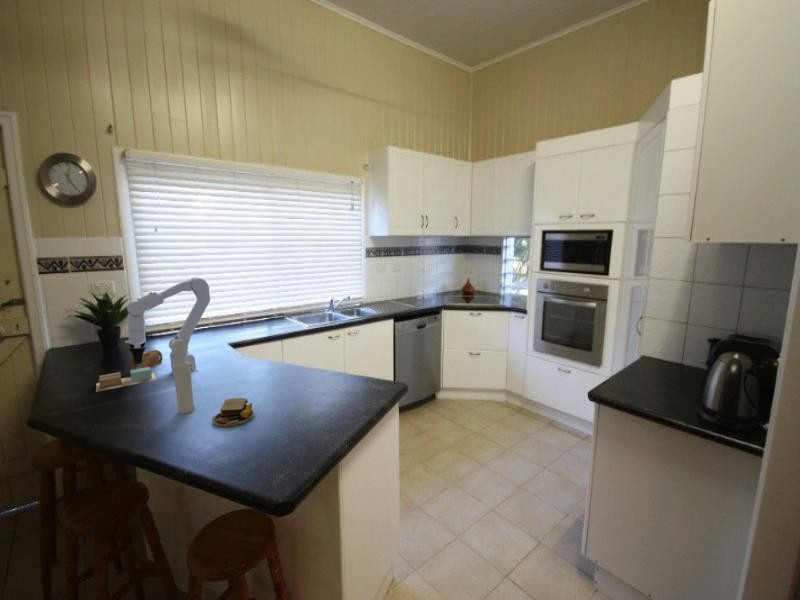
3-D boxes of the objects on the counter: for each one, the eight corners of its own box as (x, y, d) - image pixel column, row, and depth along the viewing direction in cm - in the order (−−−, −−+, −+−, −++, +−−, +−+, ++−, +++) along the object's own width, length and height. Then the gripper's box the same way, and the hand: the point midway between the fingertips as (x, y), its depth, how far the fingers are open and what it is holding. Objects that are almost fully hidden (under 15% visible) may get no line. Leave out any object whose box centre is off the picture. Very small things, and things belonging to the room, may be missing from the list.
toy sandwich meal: (204, 429, 117) (203, 414, 116) (224, 410, 130) (223, 397, 129) (245, 428, 117) (243, 413, 116) (260, 409, 130) (259, 396, 129)
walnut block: (122, 384, 154) (120, 376, 153) (100, 388, 150) (99, 380, 149) (121, 380, 159) (120, 372, 159) (100, 384, 155) (99, 375, 155)
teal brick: (151, 378, 160) (150, 369, 160) (131, 382, 156) (130, 373, 155) (150, 375, 164) (149, 366, 163) (131, 379, 160) (130, 370, 159)
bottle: (191, 406, 133) (183, 337, 129) (197, 410, 130) (190, 339, 126) (175, 411, 129) (167, 340, 125) (181, 415, 126) (173, 343, 122)
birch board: (154, 374, 168) (153, 372, 168) (156, 382, 159) (156, 379, 158) (96, 385, 156) (96, 383, 156) (96, 394, 147) (95, 391, 146)
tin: (136, 375, 168) (134, 357, 167) (130, 375, 169) (128, 356, 167) (164, 364, 183) (162, 348, 181) (158, 364, 183) (156, 347, 182)
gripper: (125, 327, 161) (126, 358, 163) (124, 333, 150) (126, 367, 151) (145, 326, 165) (146, 356, 167) (146, 332, 154) (147, 364, 155)
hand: (138, 361), depth 159 cm, fingers open, 7 cm apart
